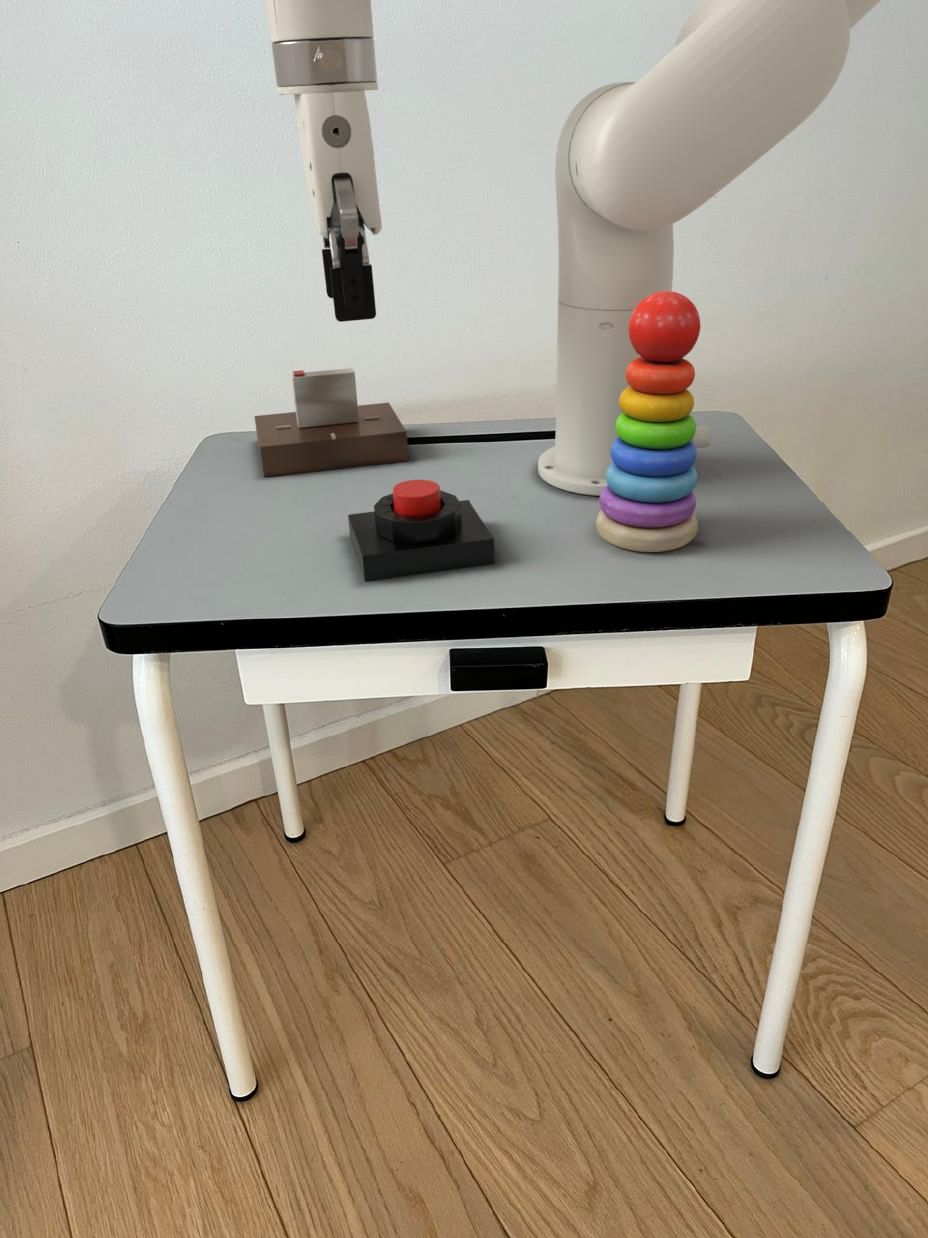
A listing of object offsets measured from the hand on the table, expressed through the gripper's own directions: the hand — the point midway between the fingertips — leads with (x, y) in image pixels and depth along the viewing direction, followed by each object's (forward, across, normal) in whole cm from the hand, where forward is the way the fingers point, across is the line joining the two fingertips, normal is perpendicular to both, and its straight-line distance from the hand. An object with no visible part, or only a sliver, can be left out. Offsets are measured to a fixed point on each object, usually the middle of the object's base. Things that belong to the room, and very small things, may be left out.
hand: (350, 307), depth 79 cm
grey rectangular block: (+13, +10, +3) cm, 17 cm away
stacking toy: (+17, -16, -20) cm, 31 cm away
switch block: (+16, -15, -2) cm, 22 cm away
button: (+13, -15, -2) cm, 20 cm away
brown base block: (+16, +10, +3) cm, 19 cm away
